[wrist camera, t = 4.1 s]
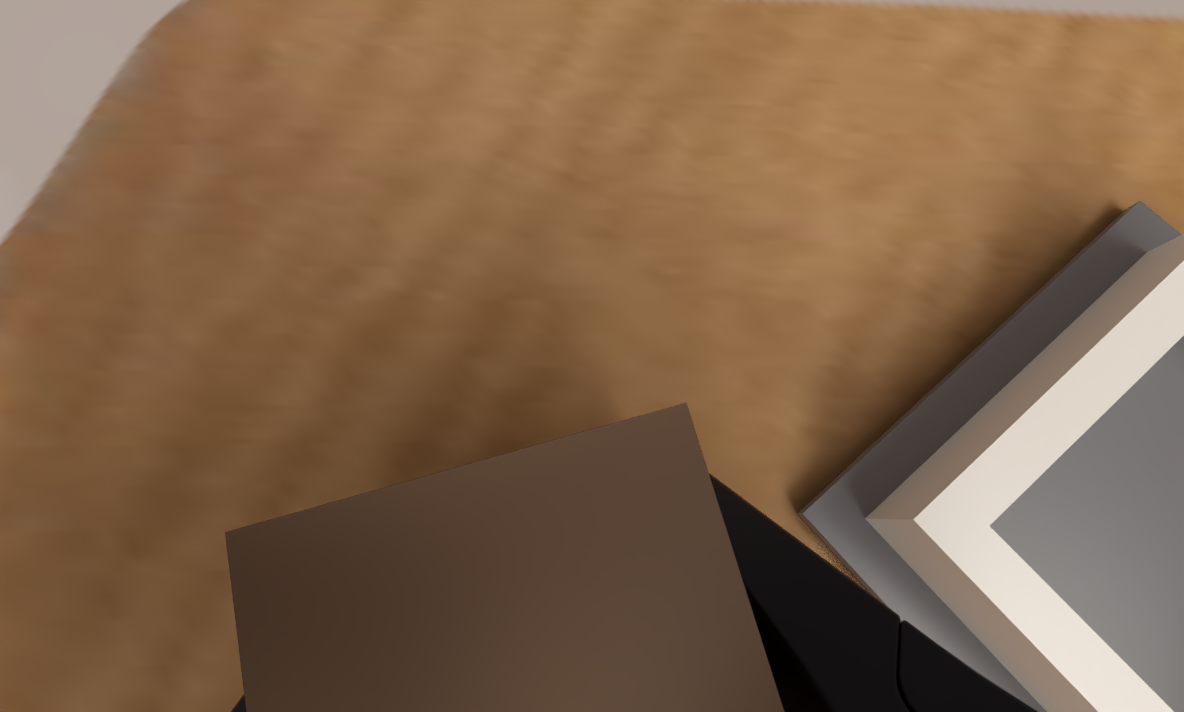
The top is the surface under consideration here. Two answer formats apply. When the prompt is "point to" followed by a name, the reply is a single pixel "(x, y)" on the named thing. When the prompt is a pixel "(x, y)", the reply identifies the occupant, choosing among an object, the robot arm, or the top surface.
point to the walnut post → (509, 588)
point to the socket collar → (1044, 489)
